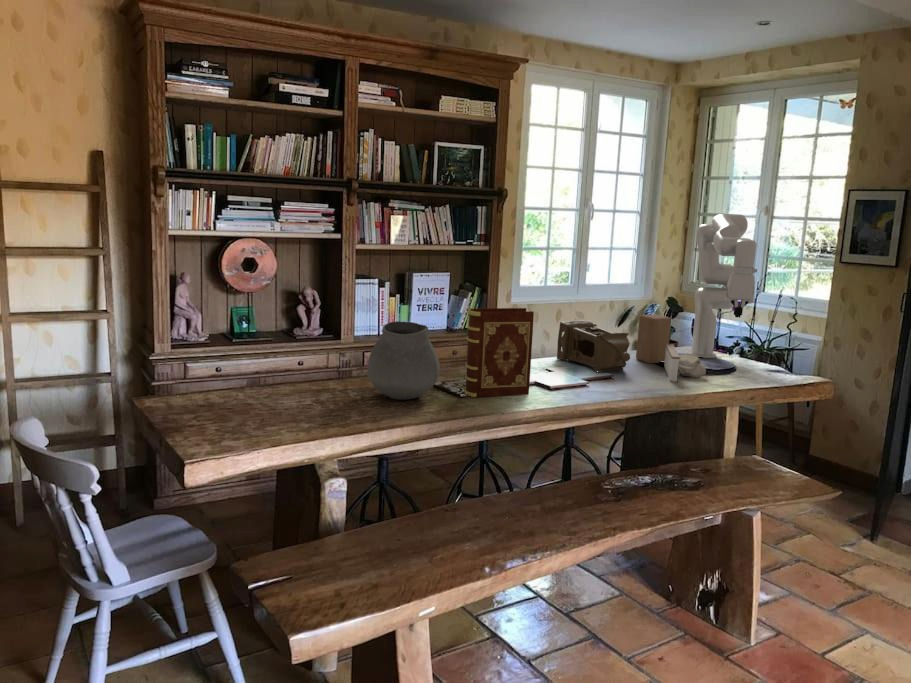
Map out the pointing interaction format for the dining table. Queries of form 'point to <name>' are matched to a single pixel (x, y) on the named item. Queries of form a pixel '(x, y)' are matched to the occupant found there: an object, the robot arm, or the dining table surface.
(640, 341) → the wooden block
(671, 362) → the grey board
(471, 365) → the decorative book
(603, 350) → the brown machine part
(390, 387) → the ceramic pot
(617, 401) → the dining table surface
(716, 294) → the robot arm
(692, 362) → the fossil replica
